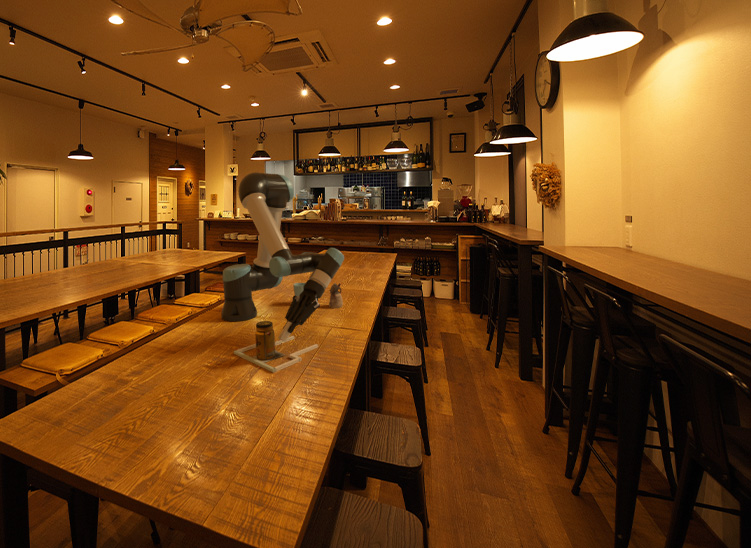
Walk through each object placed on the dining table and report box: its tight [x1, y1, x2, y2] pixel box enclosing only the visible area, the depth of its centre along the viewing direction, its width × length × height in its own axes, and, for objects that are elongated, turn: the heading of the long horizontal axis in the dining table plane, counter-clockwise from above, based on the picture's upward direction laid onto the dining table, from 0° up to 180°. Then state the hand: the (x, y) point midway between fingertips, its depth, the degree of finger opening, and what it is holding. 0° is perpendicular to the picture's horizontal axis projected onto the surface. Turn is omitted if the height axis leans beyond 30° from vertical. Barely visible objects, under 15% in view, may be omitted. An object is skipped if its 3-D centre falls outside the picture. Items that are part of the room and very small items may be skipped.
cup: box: [292, 282, 306, 296], centre depth 181 cm, size 8×8×10 cm
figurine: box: [328, 282, 344, 309], centre depth 177 cm, size 7×7×12 cm
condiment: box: [251, 320, 286, 364], centre depth 117 cm, size 7×8×12 cm
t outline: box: [233, 335, 319, 374], centre depth 121 cm, size 22×22×1 cm
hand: (281, 339), depth 121 cm, fingers closed
